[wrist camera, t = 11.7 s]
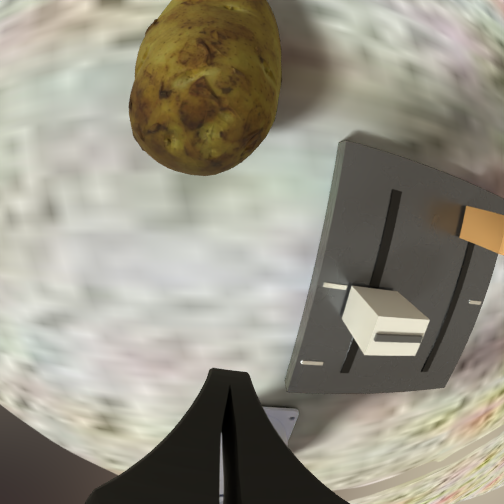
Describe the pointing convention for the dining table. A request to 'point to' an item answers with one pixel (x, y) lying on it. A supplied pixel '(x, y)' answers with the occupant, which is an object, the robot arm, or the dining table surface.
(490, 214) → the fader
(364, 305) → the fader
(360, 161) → the console
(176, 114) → the potato
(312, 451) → the dining table surface
